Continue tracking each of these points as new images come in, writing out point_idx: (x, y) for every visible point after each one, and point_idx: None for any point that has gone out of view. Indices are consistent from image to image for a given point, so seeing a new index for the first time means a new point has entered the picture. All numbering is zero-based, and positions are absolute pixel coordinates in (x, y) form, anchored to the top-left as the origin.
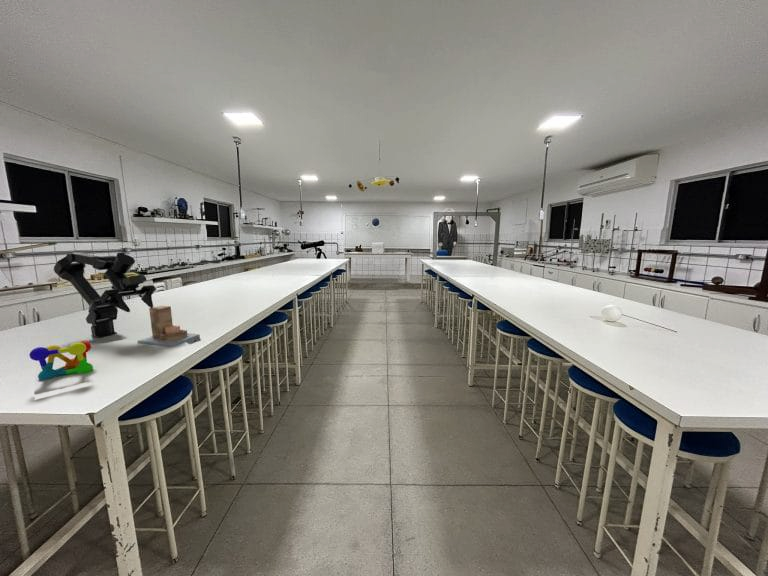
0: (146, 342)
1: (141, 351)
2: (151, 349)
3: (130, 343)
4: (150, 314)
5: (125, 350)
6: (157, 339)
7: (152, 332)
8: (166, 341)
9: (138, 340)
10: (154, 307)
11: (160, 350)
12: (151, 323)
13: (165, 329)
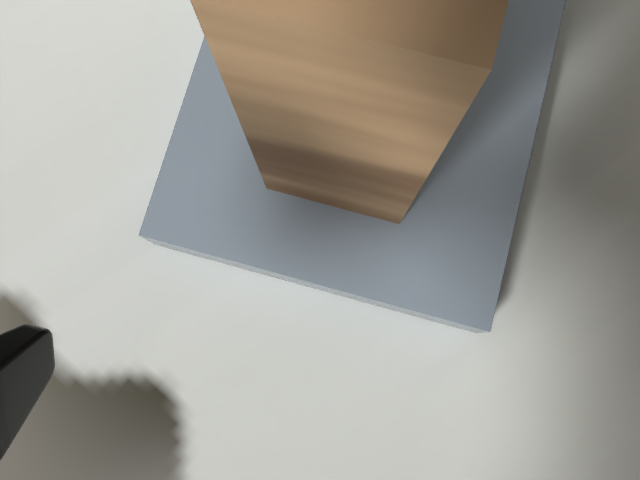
0: (515, 209)
1: (630, 173)
2: (574, 121)
3: (410, 470)
4: (458, 116)
5: (616, 348)
6: None
7: (408, 205)
8: None
9: (480, 326)
10: (395, 10)
11: (594, 25)
12: (427, 171)
13: None
